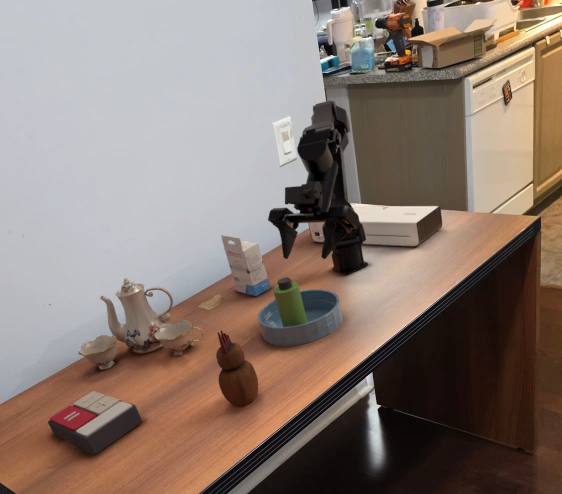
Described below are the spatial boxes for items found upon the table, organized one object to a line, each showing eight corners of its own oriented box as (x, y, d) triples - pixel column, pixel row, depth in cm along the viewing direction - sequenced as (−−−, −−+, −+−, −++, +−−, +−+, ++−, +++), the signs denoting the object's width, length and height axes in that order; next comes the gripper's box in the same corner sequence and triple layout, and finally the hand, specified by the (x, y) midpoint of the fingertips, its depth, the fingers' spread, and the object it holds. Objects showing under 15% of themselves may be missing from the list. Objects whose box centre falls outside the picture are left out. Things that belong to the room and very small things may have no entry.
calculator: (93, 388, 127) (134, 401, 116) (102, 406, 129) (143, 421, 118) (44, 418, 121) (83, 435, 110) (54, 437, 123) (93, 455, 112)
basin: (315, 301, 145) (311, 282, 143) (360, 321, 131) (356, 301, 129) (249, 332, 140) (243, 313, 138) (288, 357, 126) (282, 336, 124)
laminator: (443, 229, 163) (440, 205, 160) (418, 249, 156) (414, 224, 153) (336, 226, 186) (331, 205, 182) (310, 244, 179) (305, 222, 175)
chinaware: (82, 387, 140) (48, 323, 130) (96, 345, 153) (66, 284, 144) (207, 359, 137) (182, 291, 127) (210, 319, 151) (187, 254, 141)
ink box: (271, 288, 158) (256, 230, 150) (256, 297, 156) (239, 238, 148) (251, 283, 164) (235, 227, 157) (235, 291, 162) (219, 235, 155)
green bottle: (301, 325, 135) (288, 272, 129) (314, 332, 131) (301, 277, 125) (281, 335, 133) (266, 282, 127) (293, 342, 129) (279, 287, 123)
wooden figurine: (247, 414, 112) (222, 338, 104) (221, 410, 115) (195, 336, 108) (268, 392, 116) (245, 318, 109) (242, 389, 120) (219, 316, 112)
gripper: (260, 170, 131) (244, 243, 130) (340, 162, 121) (323, 242, 119) (290, 194, 140) (275, 263, 139) (367, 189, 130) (351, 264, 128)
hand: (304, 258), depth 131 cm, fingers open, 9 cm apart
